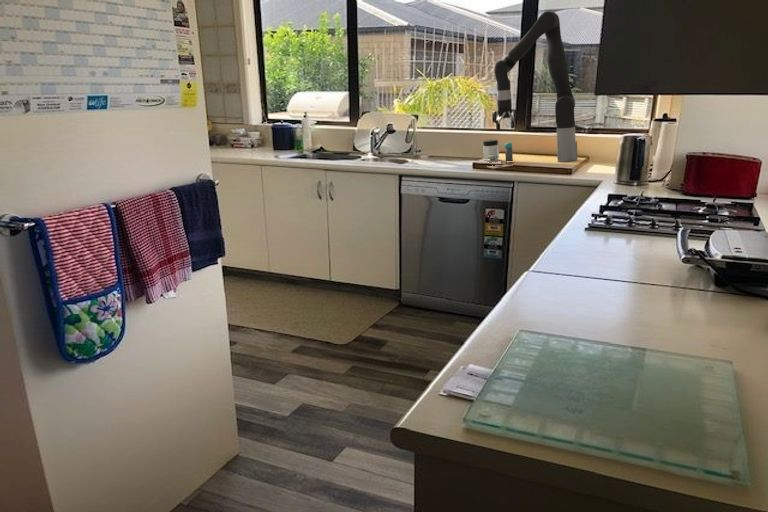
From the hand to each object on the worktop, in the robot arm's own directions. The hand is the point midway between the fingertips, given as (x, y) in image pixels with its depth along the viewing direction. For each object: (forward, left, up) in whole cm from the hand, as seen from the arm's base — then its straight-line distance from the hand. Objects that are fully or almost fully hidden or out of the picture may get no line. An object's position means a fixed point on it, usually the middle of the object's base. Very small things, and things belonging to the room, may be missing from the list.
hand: (505, 129), depth 323 cm
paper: (+8, +8, -18) cm, 21 cm away
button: (+8, -2, -16) cm, 18 cm away
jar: (+3, -13, -19) cm, 23 cm away
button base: (+8, -2, -18) cm, 20 cm away
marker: (-1, +1, -18) cm, 18 cm away
